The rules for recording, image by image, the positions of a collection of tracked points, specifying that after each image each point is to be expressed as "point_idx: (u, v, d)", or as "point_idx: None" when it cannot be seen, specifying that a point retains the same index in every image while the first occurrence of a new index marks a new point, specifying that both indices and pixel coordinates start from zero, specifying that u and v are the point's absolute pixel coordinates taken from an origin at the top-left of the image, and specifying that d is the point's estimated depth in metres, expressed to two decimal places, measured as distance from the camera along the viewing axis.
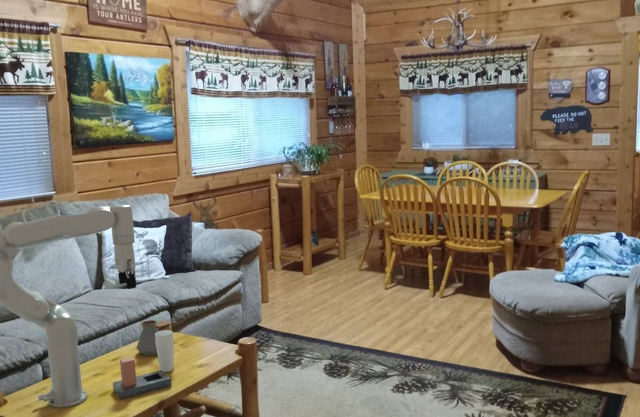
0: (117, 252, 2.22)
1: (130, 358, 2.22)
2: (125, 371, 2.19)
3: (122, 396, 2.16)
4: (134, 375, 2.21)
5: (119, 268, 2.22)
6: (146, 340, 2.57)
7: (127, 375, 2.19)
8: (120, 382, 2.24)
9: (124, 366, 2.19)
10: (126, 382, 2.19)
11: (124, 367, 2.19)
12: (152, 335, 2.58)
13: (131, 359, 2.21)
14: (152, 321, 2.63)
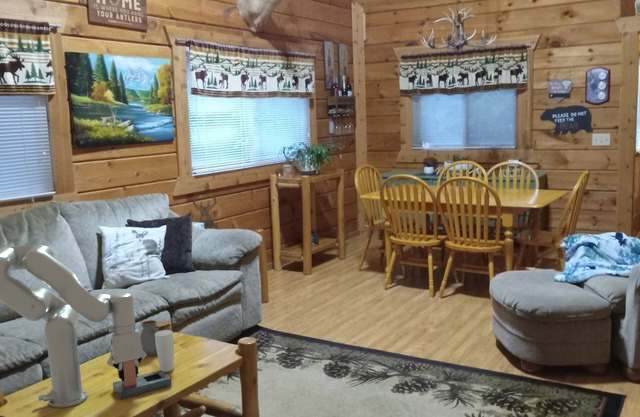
0: (130, 341, 2.18)
1: None
2: (125, 371, 2.19)
3: (122, 396, 2.16)
4: (134, 375, 2.21)
5: (133, 356, 2.19)
6: (146, 340, 2.57)
7: (128, 375, 2.19)
8: (120, 382, 2.24)
9: (124, 366, 2.19)
10: (126, 382, 2.19)
11: (124, 367, 2.19)
12: (152, 335, 2.58)
13: None
14: (152, 321, 2.63)
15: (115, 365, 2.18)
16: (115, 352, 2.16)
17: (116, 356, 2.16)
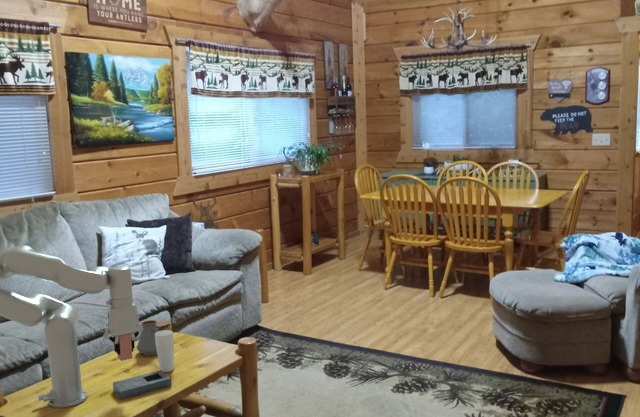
0: (127, 315, 2.17)
1: None
2: (121, 345, 2.17)
3: (122, 396, 2.16)
4: (130, 349, 2.19)
5: (130, 330, 2.18)
6: (146, 340, 2.57)
7: (124, 349, 2.18)
8: (120, 382, 2.24)
9: (120, 339, 2.17)
10: (122, 356, 2.18)
11: (120, 340, 2.17)
12: (152, 335, 2.58)
13: None
14: (152, 321, 2.63)
15: (111, 338, 2.16)
16: (112, 325, 2.14)
17: (112, 329, 2.15)
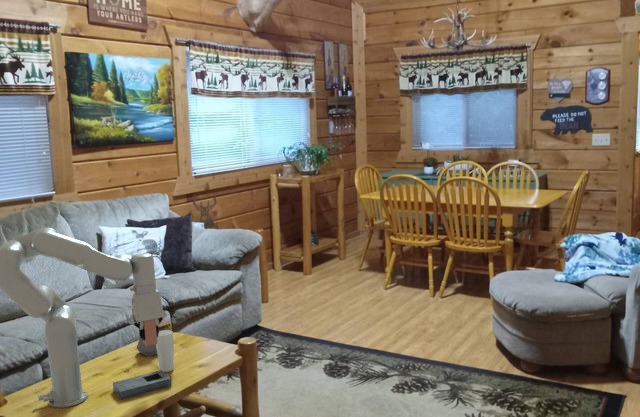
0: (151, 301, 2.21)
1: None
2: (146, 330, 2.22)
3: (122, 396, 2.16)
4: (155, 334, 2.24)
5: (154, 316, 2.22)
6: None
7: (148, 334, 2.22)
8: (120, 382, 2.24)
9: (145, 325, 2.21)
10: (147, 341, 2.22)
11: (145, 326, 2.21)
12: None
13: None
14: None
15: (136, 324, 2.21)
16: (136, 311, 2.19)
17: (137, 315, 2.19)
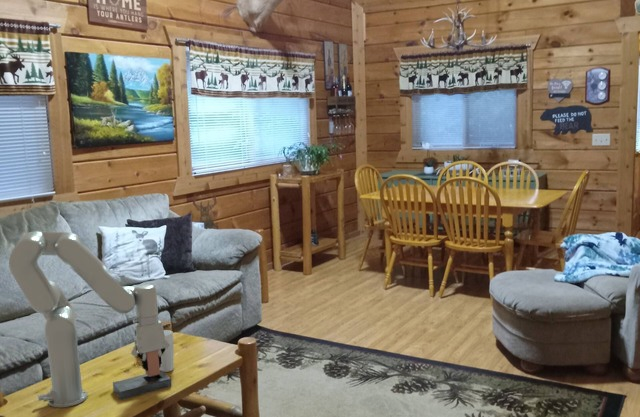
0: (153, 332, 2.22)
1: None
2: (149, 361, 2.23)
3: (122, 396, 2.16)
4: (157, 365, 2.25)
5: (157, 347, 2.24)
6: None
7: (151, 365, 2.24)
8: (120, 382, 2.24)
9: (148, 356, 2.23)
10: (150, 372, 2.24)
11: (148, 357, 2.23)
12: None
13: None
14: None
15: (139, 355, 2.22)
16: (139, 342, 2.20)
17: (140, 346, 2.20)
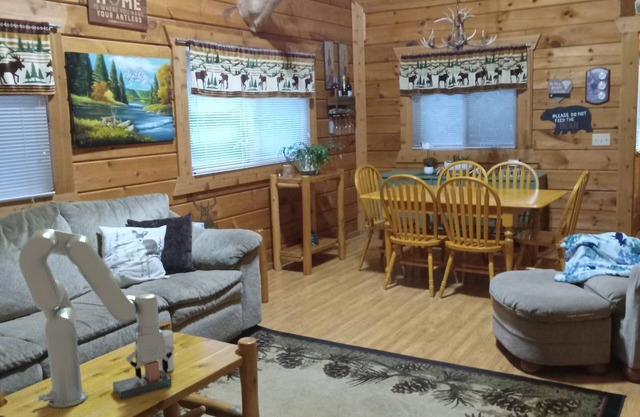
0: (154, 341, 2.23)
1: (155, 360, 2.27)
2: (150, 373, 2.24)
3: (122, 396, 2.16)
4: (158, 377, 2.26)
5: (157, 356, 2.24)
6: None
7: (152, 377, 2.24)
8: (120, 382, 2.24)
9: (149, 368, 2.24)
10: None
11: (149, 369, 2.24)
12: None
13: (155, 361, 2.26)
14: None
15: (132, 363, 2.21)
16: (140, 352, 2.21)
17: (141, 356, 2.21)
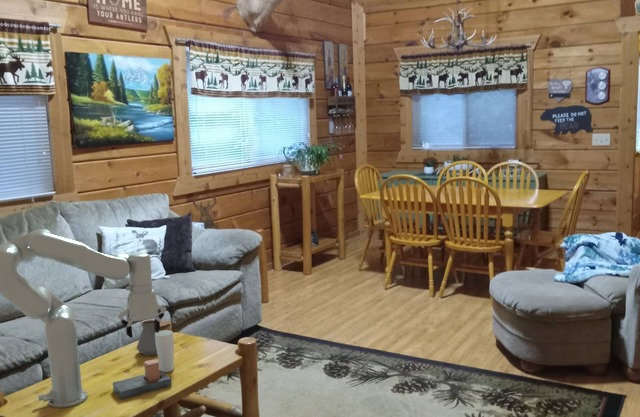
0: (146, 300, 2.22)
1: (155, 360, 2.27)
2: (150, 373, 2.24)
3: (122, 396, 2.16)
4: (158, 377, 2.26)
5: (149, 316, 2.23)
6: (146, 340, 2.57)
7: (152, 377, 2.24)
8: (120, 382, 2.24)
9: (149, 368, 2.24)
10: None
11: (149, 369, 2.24)
12: (152, 335, 2.58)
13: (155, 361, 2.26)
14: (152, 321, 2.63)
15: (123, 321, 2.20)
16: (131, 310, 2.19)
17: (132, 314, 2.20)
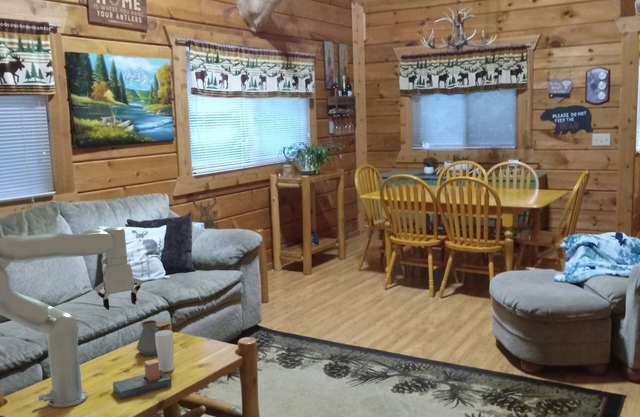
0: (122, 273, 2.26)
1: (155, 360, 2.27)
2: (150, 373, 2.24)
3: (122, 396, 2.16)
4: (158, 377, 2.26)
5: (125, 288, 2.28)
6: (146, 340, 2.57)
7: (152, 377, 2.24)
8: (120, 382, 2.24)
9: (149, 368, 2.24)
10: None
11: (149, 369, 2.24)
12: (152, 335, 2.58)
13: (155, 361, 2.26)
14: (152, 321, 2.63)
15: (100, 294, 2.25)
16: (107, 282, 2.24)
17: (108, 286, 2.24)
